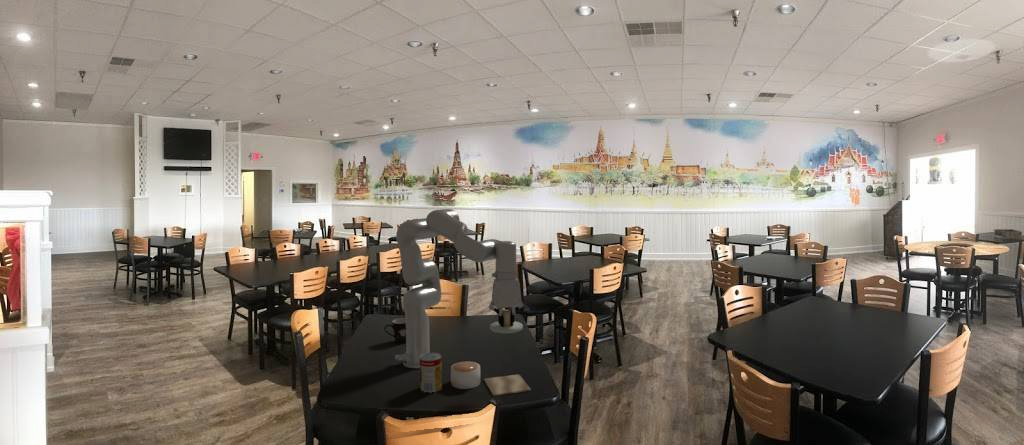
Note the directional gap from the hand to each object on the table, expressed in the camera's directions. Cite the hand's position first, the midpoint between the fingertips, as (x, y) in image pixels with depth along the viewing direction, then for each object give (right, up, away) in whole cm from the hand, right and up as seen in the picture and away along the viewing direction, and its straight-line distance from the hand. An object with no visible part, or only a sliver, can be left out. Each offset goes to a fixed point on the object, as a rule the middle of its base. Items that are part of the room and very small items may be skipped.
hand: (506, 324), depth 174 cm
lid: (0, -1, 0) cm, 1 cm away
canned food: (-27, -23, 0) cm, 36 cm away
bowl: (-15, -23, +5) cm, 28 cm away
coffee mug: (-51, -19, +51) cm, 75 cm away
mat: (0, -23, +2) cm, 23 cm away
